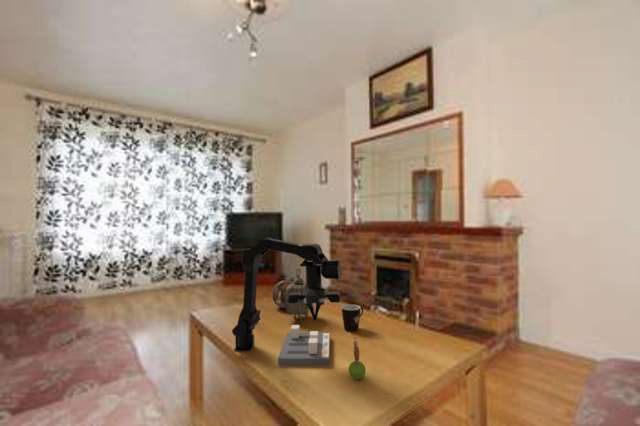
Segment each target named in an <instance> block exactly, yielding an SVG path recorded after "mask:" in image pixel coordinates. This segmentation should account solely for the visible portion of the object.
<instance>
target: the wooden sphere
mask: <svg viewBox="0 0 640 426" xmlns="http://www.w3.org/2000/svg"><path fill="white" fill-rule="evenodd" d="M293 282H294V281H290V280H281V281H279V282H277V284H275V286H273V290H272V293H271V295H272V296H271V297H272V301H273V302H274V304H275V305H276V306H277V307H280V308H282V309H286V288H287V287H288V286H289V285H290V284H292V283H293Z"/></svg>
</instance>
